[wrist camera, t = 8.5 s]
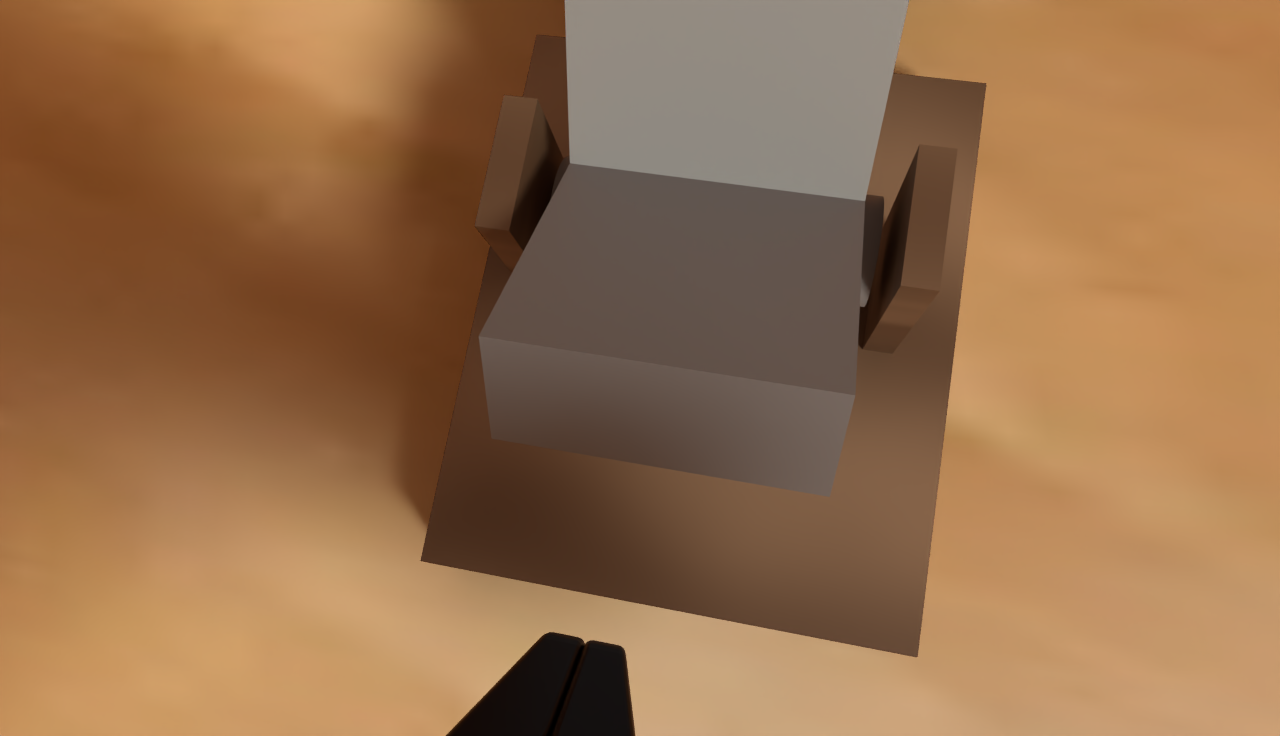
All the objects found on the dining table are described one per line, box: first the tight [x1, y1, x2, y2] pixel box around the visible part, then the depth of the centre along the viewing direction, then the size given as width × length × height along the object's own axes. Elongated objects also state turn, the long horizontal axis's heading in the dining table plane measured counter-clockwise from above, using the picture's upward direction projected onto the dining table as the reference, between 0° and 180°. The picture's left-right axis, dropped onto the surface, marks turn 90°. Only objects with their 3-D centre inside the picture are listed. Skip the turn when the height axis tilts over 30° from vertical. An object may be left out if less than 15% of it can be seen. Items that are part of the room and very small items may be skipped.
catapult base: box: [421, 35, 986, 657], centre depth 18 cm, size 12×10×6 cm
